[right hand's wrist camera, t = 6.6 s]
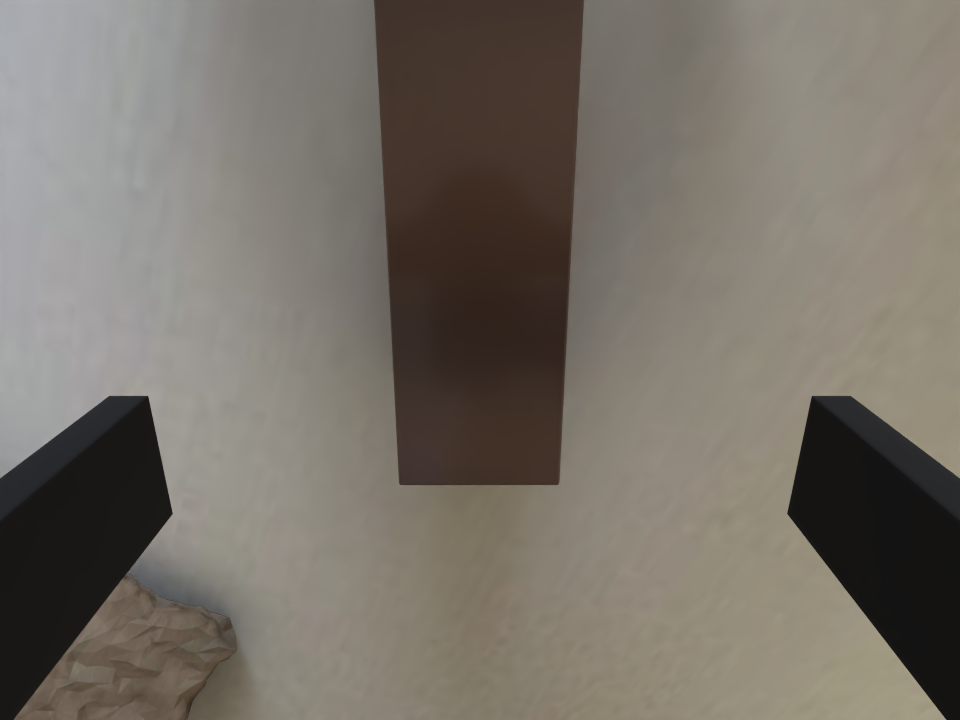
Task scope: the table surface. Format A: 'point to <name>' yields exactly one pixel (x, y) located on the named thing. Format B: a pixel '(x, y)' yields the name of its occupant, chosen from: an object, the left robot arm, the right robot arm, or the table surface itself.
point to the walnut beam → (479, 231)
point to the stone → (134, 661)
